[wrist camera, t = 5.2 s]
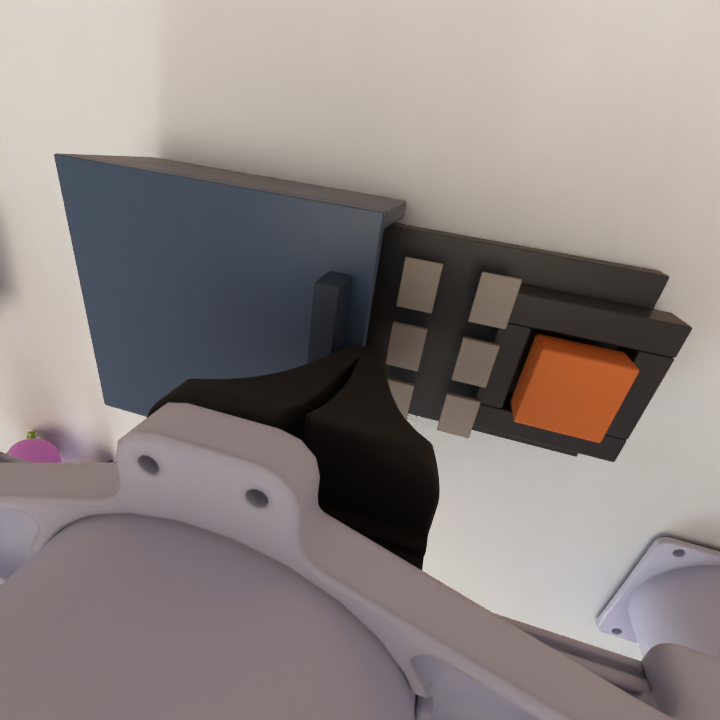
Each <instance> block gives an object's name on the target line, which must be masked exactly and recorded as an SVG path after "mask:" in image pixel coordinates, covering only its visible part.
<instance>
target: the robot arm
mask: <svg viewBox="0 0 720 720" xmlns="http://www.w3.org/2000/svg"><path fill="white" fill-rule="evenodd" d="M386 360H387V354H386V352H385V351H382V350H378V349H374V348H369V347H365V346H361V345H357V344H350V345H348V346H346V347H344V348H342V349H340V350H338V351H336V352H333V353H331V354H329V355H327V356H325V357H323V358H320V359H318V360H315V361H313V362H310V363H308V364H305V365H303V366H300V367H297V368H293V369H290V370H286V371H282V372H278V373H273V374H267V375H261V376H255V377H246V378H233V379H193V378H189V379H187V380H186V381H184V382H183V383H182V384H180V385H179V386H178V387H176V388H175V389H174V390H172V391H171V392H170V393H168V394H167V395H166V396H164V397H163V398H162V399H160V400H159V401H158V402H156V403H155V405H154V406H153V407H152V408H151V409H150V410H149V413H148V416H147V419H145V420H144V421H143V422H141V423H140V424H139V425H138V426H136V427H135V428H134V429H132V430H131V431H130V432H129V433H127V434H126V435H125V436H123V437H122V438H121V439H119V440H118V445H117V453H116V462H73V463H33V462H30V461H27V460H24V459H21V458H18V457H15V456H12V455H9V454H6V453H3V452H0V720H720V551H717V550H713V549H709V548H706V547H702V546H699V545H695V544H691V543H688V542H684V541H681V540H677V539H674V538H670V537H661V538H658V539H657V540H655V541H654V543H653V544H652V545H651V547H650V548H649V549H648V551H647V552H646V553H645V555H644V556H643V558H642V559H641V560H640V562H639V563H638V564H637V566H636V567H635V568H634V570H633V571H632V572H631V574H630V575H629V577H628V578H627V579H626V581H625V582H624V583H623V585H622V586H621V587H620V589H619V590H618V591H617V593H616V594H615V595H614V597H613V598H612V600H611V601H610V602H609V604H608V605H607V606H606V608H605V609H604V610H603V612H602V613H601V614H600V616H599V617H598V619H597V620H596V622H597V626H598V629H599V630H600V631H602V632H604V633H607V634H610V635H613V636H617V637H620V638H623V639H626V640H629V641H632V642H635V643H638V644H639V646H640V649H641V652H642V655H643V657H644V658H643V659H642V661H638V660H635V659H632V658H629V657H626V656H623V655H620V654H617V653H614V652H611V651H608V650H605V649H601V648H598V647H595V646H592V645H589V644H586V643H583V642H580V641H577V640H574V639H571V638H568V637H565V636H562V635H559V634H556V633H553V632H550V631H546V630H543V629H540V628H537V627H534V626H531V625H528V624H525V623H522V622H519V621H516V620H513V619H510V618H507V617H504V616H501V615H498V614H494V613H492V612H490V611H489V610H487V609H485V608H484V607H482V606H480V605H479V604H477V603H475V602H474V601H472V600H470V599H469V598H467V597H465V596H464V595H462V594H460V593H458V592H457V591H455V590H453V589H452V588H450V587H448V586H447V585H445V584H443V583H442V582H440V581H438V580H437V579H435V578H433V577H432V576H430V575H428V574H427V573H425V572H423V571H422V566H423V557H424V555H425V552H426V547H427V538H428V533H429V530H430V527H431V524H432V521H433V518H434V515H435V511H436V508H437V505H438V501H439V476H438V468H437V463H436V458H435V454H434V449H433V446H432V444H431V443H430V442H429V441H428V440H427V439H426V438H424V437H423V436H422V435H421V434H419V433H418V432H417V431H416V430H415V429H414V428H413V427H412V426H411V425H410V424H409V423H408V421H407V420H406V419H405V417H404V416H403V415H402V413H401V412H400V410H399V408H398V406H397V404H396V402H395V400H394V398H393V396H392V393H391V390H390V387H389V384H388V380H387V374H386V367H385V365H386ZM678 549H679V550H678Z"/></svg>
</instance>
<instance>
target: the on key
mask: <svg viewBox="0 0 720 720" xmlns="http://www.w3.org/2000/svg"><path fill="white" fill-rule="evenodd" d="M638 373H639V369H638V368H637V367H636V365H635V364H634V363H633V362H632V361H631V360H630V358H629V357H628V356H627V355H626V354H625V353H624V352H621V351H616V350H612V349H607V348H602V347H598V346H593V345H588V344H584V343H579V342H574V341H570V340H565V339H560V338H556V337H551V336H546V335H542V334H536V336H535V338H534V341H533V343H532V346H531V349H530V351H529V354H528V356H527V359H526V362H525V364H524V367H523V370H522V372H521V375H520V377H519V380H518V383H517V385H516V388H515V391H514V393H513V396H512V398H511V407H512V412H513V418H514V421H515V422H517V423H521V424H525V425H529V426H533V427H537V428H541V429H545V430H549V431H553V432H557V433H561V434H565V435H569V436H573V437H577V438H581V439H585V440H589V441H593V442H597V443H600V442H601V441H602V439H603V437H604V436H605V434H606V432H607V430H608V428H609V426H610V425H611V423H612V421H613V419H614V417H615V415H616V414H617V412H618V410H619V408H620V406H621V404H622V403H623V401H624V399H625V397H626V395H627V393H628V392H629V390H630V388H631V386H632V384H633V382H634V381H635V379H636V377H637V375H638Z"/></svg>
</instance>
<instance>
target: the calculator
mask: <svg viewBox="0 0 720 720" xmlns="http://www.w3.org/2000/svg"><path fill="white" fill-rule="evenodd" d="M406 257H410V258H416V259H421V260H426V261H431V262H436V263H441V264H443V268H442V272H441V276H440V280H439V285H438V289H437V293H436V297H435V301H434V306H433V310H432V313H427V312H422V311H417V310H413V309H408V308H404V307H399V306H396V304H397V299H398V294H399V288H400V283H401V278H402V273H403V267H404V262H405V258H406ZM482 272H488V273H493V274H498V275H503V276H508V277H513V278H518V279H522V283H521V285H520V288H519V291H518V294H517V297H516V300H515V303H514V306H513V309H512V312H511V315H510V318H509V321H508V324H507V327H506V329H501V328H496V327H492V326H487V325H483V324H478V323H473V322H469V321H468V318H469V315H470V311H471V308H472V304H473V301H474V298H475V294H476V291H477V287H478V284H479V280H480V277H481V273H482ZM668 279H669V276H667V275H665V274H663V273H662V272H660V271H656V270H650V269H645V268H639V267H634V266H628V265H623V264H617V263H612V262H606V261H601V260H595V259H590V258H584V257H579V256H573V255H568V254H562V253H557V252H551V251H546V250H540V249H535V248H529V247H524V246H518V245H513V244H507V243H502V242H496V241H491V240H485V239H480V238H474V237H469V236H463V235H458V234H452V233H447V232H441V231H436V230H430V229H425V228H419V227H414V226H408V225H403V224H397V223H393V224H391V225H390V226H388V227H387V228H386V229H384V232H383V238H382V245H381V251H380V257H379V264H378V270H377V276H376V282H375V289H374V295H373V301H372V307H371V314H370V320H369V326H368V332H367V339H366V345H365V347H369V348H374V349H378V350H382V351H385V352H386V354H387V351H388V346H389V341H390V336H391V330H392V325H393V322H394V321H395V322H400V323H404V324H409V325H413V326H418V327H422V328H427V329H428V331H427V335H426V339H425V343H424V348H423V352H422V356H421V360H420V364H419V369H418V372H417V371H413V370H409V369H404V368H400V367H396V366H392V365H388V364H386V365H385V367H386V374H387V377H388V378H392V379H396V380H400V381H404V382H408V383H412V384H415V385H414V390H413V394H412V398H411V402H410V406H409V411H408V413H409V414H413V415H417V416H421V417H425V418H428V419H432V420H436V421H439V420H440V416H441V413H442V409H443V406H444V402H445V399H446V395H447V392H449V393H453V394H457V395H461V396H465V397H469V398H474V399H478V400H481V403H480V406H479V409H478V412H477V415H476V418H475V421H474V424H473V427H472V430H475V431H479V432H483V433H487V434H491V435H494V436H498V437H502V438H506V439H510V440H514V441H518V442H522V443H526V444H529V445H533V446H537V447H541V448H545V449H549V450H553V451H557V452H560V453H564V454H568V455H572V456H577V455H578V453H580V454H584V455H588V456H592V457H596V458H599V459H603V460H607V461H611V462H614V461H615V460H616V458H617V457H618V455H619V453H620V451H621V450H622V448H623V446H624V444H625V443H626V439H628V438H629V436H630V434H631V433H632V431H633V429H634V428H635V426H636V424H637V422H638V421H639V419H640V417H641V416H642V414H643V412H644V410H645V409H646V407H647V405H648V404H649V402H650V400H651V398H652V397H653V395H654V393H655V392H656V390H657V388H658V386H659V385H660V383H661V381H662V380H663V378H664V376H665V374H666V373H667V371H668V369H669V368H670V366H671V364H672V362H673V361H674V358H675V357H676V356H677V354H678V352H679V351H680V349H681V347H682V345H683V344H684V342H685V340H686V339H687V337H688V335H689V333H690V332H691V330H692V327H690V326H689V325H688V324H686V323H685V322H683V321H682V320H681V319H679V318H678V317H676V316H675V315H673V314H672V313H669V312H664V311H659V310H654V309H653V308H654V306H655V304H656V302H657V300H658V298H659V297H660V295H661V293H662V291H663V289H664V287H665V285H666V283H667V281H668ZM536 334H542V335H546V336H551V337H556V338H560V339H565V340H570V341H574V342H579V343H584V344H588V345H593V346H598V347H602V348H607V349H612V350H616V351H621V352H624V353H625V354H626V355H627V356H628V357H629V358H630V360H631V361H632V362H633V363H634V364H635V365H636V367H637V368H638V369H639V373H638V375H637V377H636V379H635V381H634V382H633V384H632V386H631V388H630V390H629V392H628V393H627V395H626V397H625V399H624V401H623V403H622V404H621V406H620V408H619V410H618V412H617V414H616V415H615V417H614V419H613V421H612V423H611V425H610V426H609V428H608V430H607V432H606V434H605V436H604V437H603V439H602V441H601V442H600V443H597V442H593V441H589V440H585V439H581V438H577V437H573V436H569V435H565V434H561V433H557V432H553V431H549V430H545V429H541V428H537V427H533V426H529V425H525V424H521V423H517V422H515V421H514V418H513V412H512V407H511V398H512V396H513V393H514V391H515V388H516V385H517V383H518V380H519V377H520V375H521V372H522V370H523V367H524V364H525V362H526V359H527V356H528V354H529V351H530V349H531V346H532V343H533V341H534V338H535V336H536ZM463 337H468V338H472V339H477V340H481V341H486V342H490V343H495V344H499V345H500V347H499V350H498V353H497V356H496V359H495V362H494V365H493V368H492V371H491V374H490V377H489V380H488V383H487V386H486V388H484V387H479V386H475V385H471V384H467V383H463V382H459V381H454V380H451V378H452V374H453V371H454V367H455V364H456V360H457V357H458V353H459V350H460V346H461V343H462V339H463Z"/></svg>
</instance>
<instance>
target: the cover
mask: <svg viewBox="0 0 720 720" xmlns="http://www.w3.org/2000/svg"><path fill="white" fill-rule="evenodd" d="M54 157H55V162H56V167H57V171H58V176H59V181H60V186H61V191H62V196H63V201H64V206H65V211H66V216H67V221H68V225H69V230H70V235H71V240H72V245H73V250H74V255H75V260H76V265H77V270H78V275H79V279H80V284H81V289H82V294H83V299H84V304H85V309H86V314H87V319H88V324H89V328H90V333H91V338H92V343H93V348H94V353H95V358H96V363H97V368H98V373H99V378H100V382H101V387H102V392H103V397H104V402H105V405H108V406H112V407H115V408H119V409H122V410H125V411H129V412H132V413H136V414H139V415H143V416H146V417H147V416H148V413H149V410H150V409H151V408H152V407H153V406H154V405H155V403H156V402H158V401H159V400H160V399H162V398H163V397H164V396H166V395H167V394H168V393H170V392H171V391H172V390H174V389H175V388H176V387H178V386H179V385H180V384H182V383H183V382H184V381H186V380H187V379H189V378H193V379H233V378H246V377H255V376H261V375H267V374H273V373H278V372H282V371H286V370H290V369H293V368H297V367H300V366H303V365H305V364H308V363H310V362H313V361H315V360H318V359H320V358H323V357H325V356H327V355H329V354H331V353H333V352H336V351H338V350H340V349H342V348H344V347H346V346H348V345H350V344H357V345H361V346H365V345H366V339H367V332H368V326H369V320H370V314H371V307H372V301H373V295H374V289H375V282H376V276H377V270H378V264H379V257H380V251H381V245H382V238H383V232H384V229H386V228H387V227H388V226H390V225H391V224H393V223H394V222H395V221H397V220H398V219H400V218H401V217H402V216H403V215H404V212H405V206H406V201H403V200H397V199H391V198H386V197H380V196H374V195H368V194H362V193H357V192H351V191H345V190H339V189H333V188H327V187H322V186H316V185H310V184H304V183H298V182H293V181H287V180H281V179H275V178H269V177H264V176H258V175H252V174H246V173H240V172H234V171H229V170H223V169H217V168H211V167H205V166H200V165H194V164H188V163H182V162H176V161H171V160H165V159H159V158H153V157H130V156H105V155H79V154H54Z"/></svg>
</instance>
